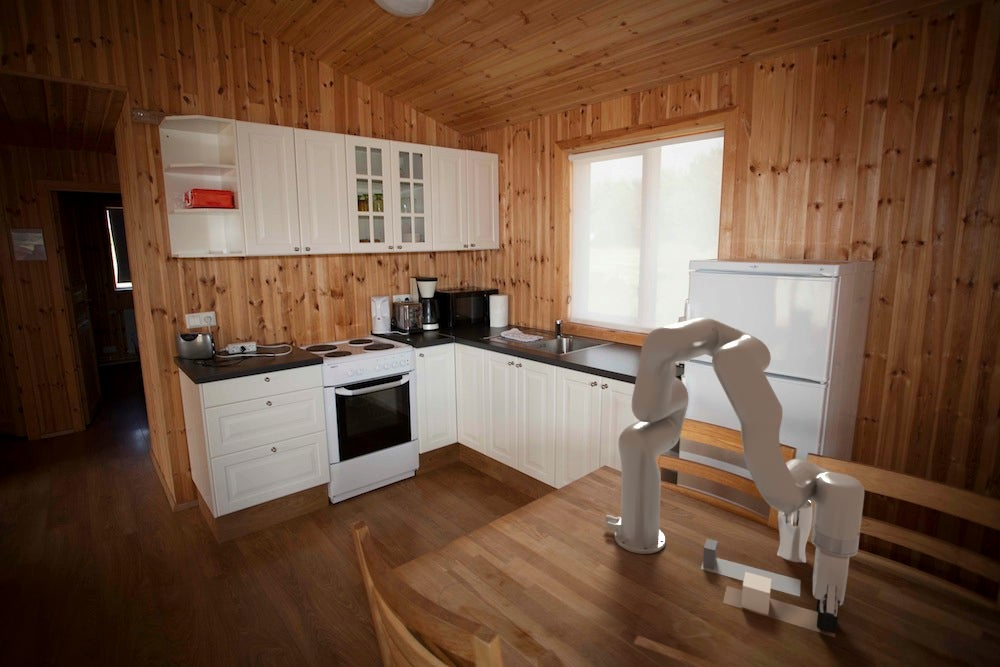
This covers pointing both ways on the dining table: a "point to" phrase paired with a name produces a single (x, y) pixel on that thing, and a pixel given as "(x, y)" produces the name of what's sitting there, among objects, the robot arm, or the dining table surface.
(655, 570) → the dining table surface
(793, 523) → the beer glass
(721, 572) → the grey strip
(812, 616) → the brown long piece
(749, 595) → the cream block
